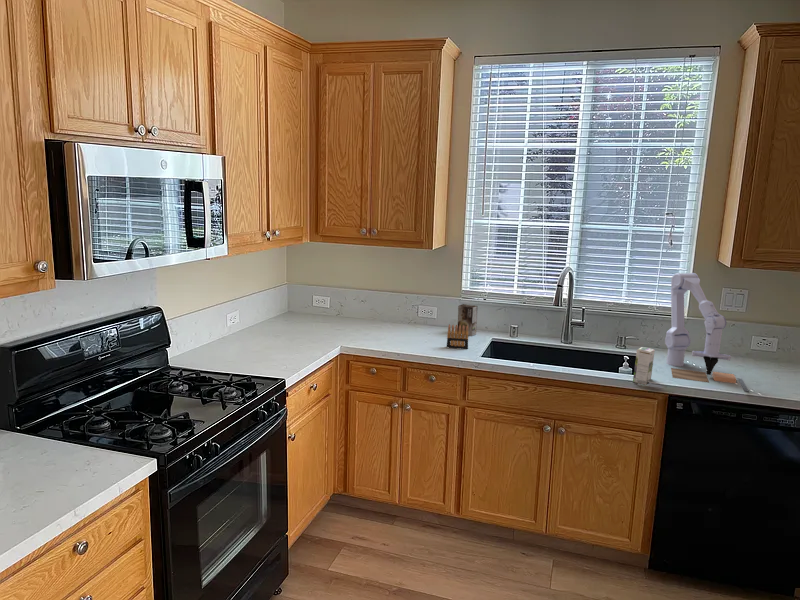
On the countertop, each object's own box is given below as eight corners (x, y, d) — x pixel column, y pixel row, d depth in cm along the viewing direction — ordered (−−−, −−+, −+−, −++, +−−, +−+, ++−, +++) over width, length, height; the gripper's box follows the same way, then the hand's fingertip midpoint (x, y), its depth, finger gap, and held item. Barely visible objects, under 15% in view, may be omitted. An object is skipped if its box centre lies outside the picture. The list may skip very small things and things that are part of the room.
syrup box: (636, 379, 250) (640, 346, 247) (651, 382, 246) (655, 349, 243) (632, 382, 245) (636, 348, 243) (647, 385, 242) (650, 351, 239)
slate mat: (706, 375, 259) (706, 374, 259) (741, 379, 254) (742, 378, 253) (710, 386, 242) (710, 385, 242) (748, 392, 237) (748, 391, 237)
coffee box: (476, 334, 321) (478, 305, 318) (471, 336, 316) (473, 307, 313) (461, 331, 326) (463, 303, 323) (456, 333, 321) (458, 305, 318)
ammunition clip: (446, 347, 291) (447, 324, 289) (446, 346, 293) (447, 323, 291) (467, 349, 290) (469, 325, 287) (467, 348, 291) (469, 324, 289)
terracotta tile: (712, 378, 253) (712, 371, 252) (732, 381, 250) (733, 374, 249) (713, 382, 246) (714, 376, 246) (735, 385, 244) (736, 378, 243)
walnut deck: (670, 371, 263) (670, 367, 263) (705, 375, 258) (705, 372, 258) (672, 380, 249) (672, 377, 248) (708, 385, 243) (709, 382, 243)
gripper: (694, 343, 247) (690, 374, 249) (733, 347, 241) (728, 379, 244) (693, 339, 253) (689, 369, 255) (730, 344, 248) (726, 374, 250)
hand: (708, 374), depth 250 cm, fingers closed
